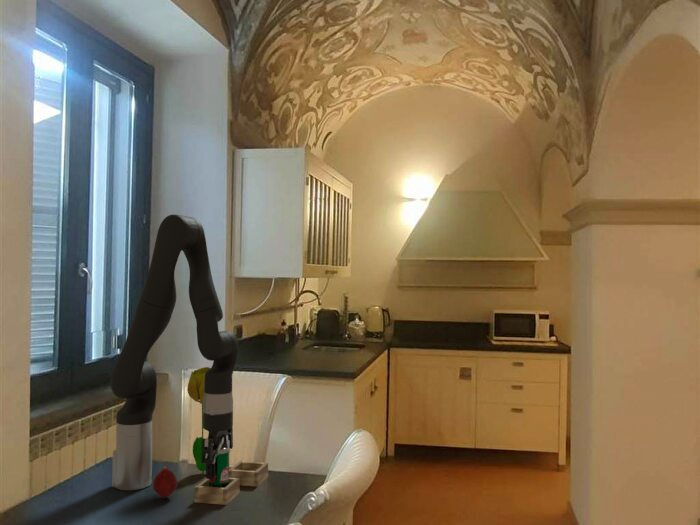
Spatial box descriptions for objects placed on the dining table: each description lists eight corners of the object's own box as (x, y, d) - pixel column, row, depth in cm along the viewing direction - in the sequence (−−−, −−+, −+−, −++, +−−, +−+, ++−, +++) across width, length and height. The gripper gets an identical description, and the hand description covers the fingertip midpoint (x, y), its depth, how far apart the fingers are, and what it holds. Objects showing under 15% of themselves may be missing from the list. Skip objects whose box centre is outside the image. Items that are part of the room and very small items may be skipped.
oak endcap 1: (194, 502, 153) (194, 487, 153) (209, 490, 162) (209, 476, 162) (226, 504, 152) (226, 489, 152) (239, 492, 160) (239, 478, 160)
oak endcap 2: (228, 484, 167) (228, 470, 167) (239, 474, 175) (239, 461, 175) (257, 486, 165) (257, 472, 165) (268, 476, 173) (268, 462, 173)
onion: (181, 496, 158) (182, 464, 158) (166, 503, 153) (166, 471, 153) (164, 492, 160) (164, 461, 160) (148, 499, 155) (148, 468, 155)
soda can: (223, 498, 154) (224, 451, 154) (205, 497, 155) (205, 449, 155) (232, 491, 159) (232, 445, 159) (214, 490, 160) (214, 443, 160)
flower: (195, 468, 181) (195, 366, 181) (221, 469, 179) (222, 366, 180) (183, 477, 172) (184, 370, 173) (210, 479, 171) (211, 371, 172)
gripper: (215, 403, 165) (215, 463, 165) (192, 415, 151) (191, 481, 151) (242, 404, 163) (241, 465, 163) (220, 416, 149) (219, 483, 149)
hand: (217, 473), depth 157 cm, fingers open, 8 cm apart
